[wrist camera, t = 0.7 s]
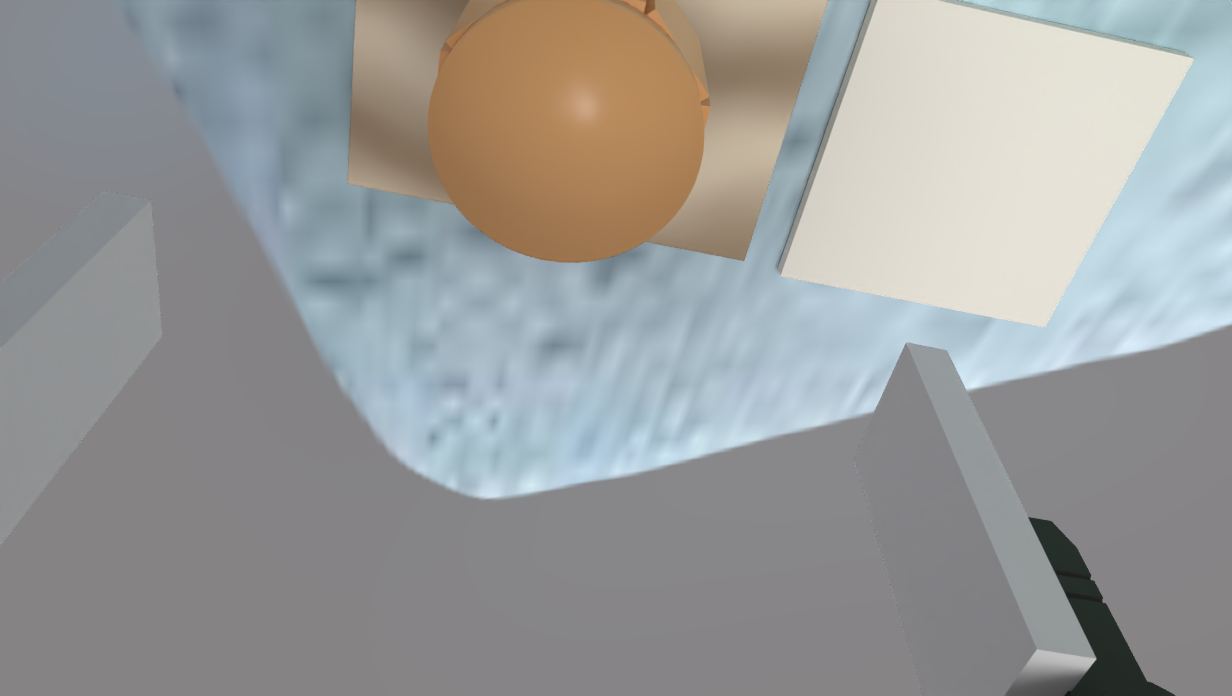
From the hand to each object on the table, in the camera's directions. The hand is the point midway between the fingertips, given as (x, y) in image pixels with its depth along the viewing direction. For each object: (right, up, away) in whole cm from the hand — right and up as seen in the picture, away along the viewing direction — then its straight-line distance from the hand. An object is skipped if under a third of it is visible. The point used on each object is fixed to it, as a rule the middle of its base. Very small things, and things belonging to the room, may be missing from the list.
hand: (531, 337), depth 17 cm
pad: (+16, +7, +21) cm, 27 cm away
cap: (0, +8, +12) cm, 15 cm away
